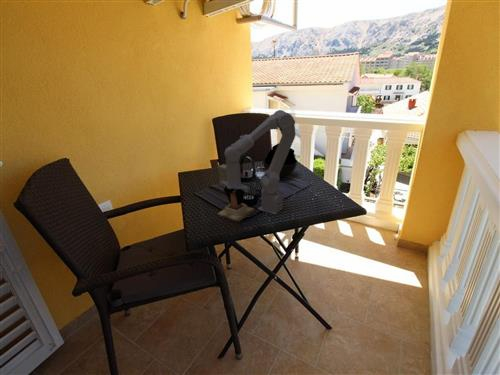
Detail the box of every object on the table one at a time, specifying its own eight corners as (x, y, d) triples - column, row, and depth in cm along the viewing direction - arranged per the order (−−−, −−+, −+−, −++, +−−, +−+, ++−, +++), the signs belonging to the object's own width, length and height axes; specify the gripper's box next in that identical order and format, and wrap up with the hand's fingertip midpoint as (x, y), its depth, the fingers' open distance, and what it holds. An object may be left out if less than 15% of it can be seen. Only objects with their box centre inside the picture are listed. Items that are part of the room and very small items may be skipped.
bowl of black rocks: (290, 184, 147) (291, 152, 139) (258, 180, 155) (256, 149, 148) (300, 172, 163) (301, 143, 156) (270, 169, 172) (270, 140, 164)
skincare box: (219, 186, 150) (217, 165, 145) (225, 183, 153) (223, 163, 148) (226, 189, 146) (224, 168, 141) (232, 186, 148) (230, 166, 143)
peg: (242, 208, 120) (241, 192, 117) (236, 211, 117) (235, 195, 114) (235, 206, 122) (234, 190, 119) (229, 209, 119) (228, 193, 116)
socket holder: (254, 210, 122) (254, 203, 120) (238, 221, 113) (238, 215, 111) (234, 204, 128) (233, 198, 127) (217, 214, 119) (217, 208, 118)
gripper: (214, 174, 114) (217, 202, 119) (241, 181, 106) (243, 210, 112) (225, 169, 119) (227, 196, 125) (251, 175, 111) (252, 204, 117)
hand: (235, 203), depth 118 cm, fingers closed on peg, 4 cm apart
